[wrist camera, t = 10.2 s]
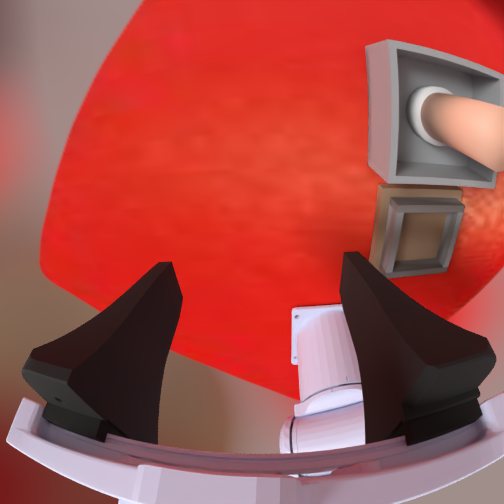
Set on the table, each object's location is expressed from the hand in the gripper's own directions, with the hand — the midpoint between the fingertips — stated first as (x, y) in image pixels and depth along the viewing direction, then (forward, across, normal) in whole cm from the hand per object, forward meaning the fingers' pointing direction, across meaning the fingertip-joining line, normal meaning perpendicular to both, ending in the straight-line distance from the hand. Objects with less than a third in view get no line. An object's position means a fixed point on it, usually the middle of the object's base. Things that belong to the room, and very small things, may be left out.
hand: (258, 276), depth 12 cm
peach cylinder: (+10, -13, -6) cm, 17 cm away
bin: (+10, -13, -6) cm, 18 cm away
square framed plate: (+10, -13, +4) cm, 17 cm away
